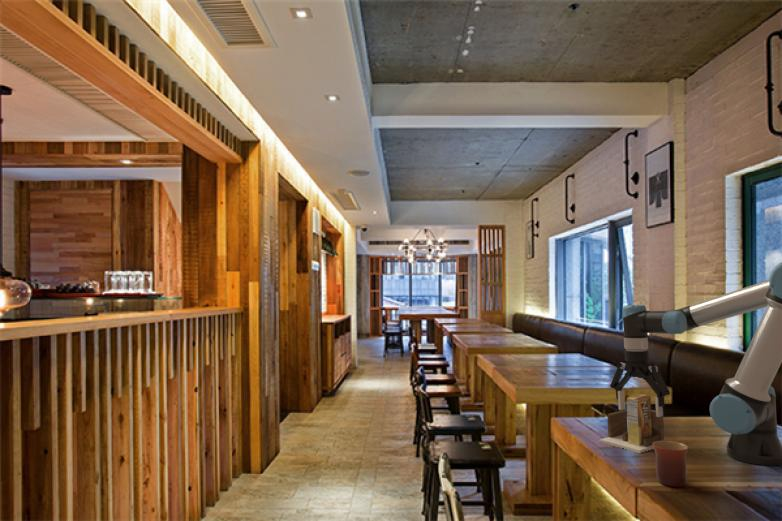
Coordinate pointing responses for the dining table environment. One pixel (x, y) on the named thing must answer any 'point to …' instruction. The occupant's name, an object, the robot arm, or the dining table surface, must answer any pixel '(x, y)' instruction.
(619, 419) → the dark wooden panel
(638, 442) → the candy box
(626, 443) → the shelf board
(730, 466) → the dining table surface
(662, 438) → the bookend
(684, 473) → the mug
